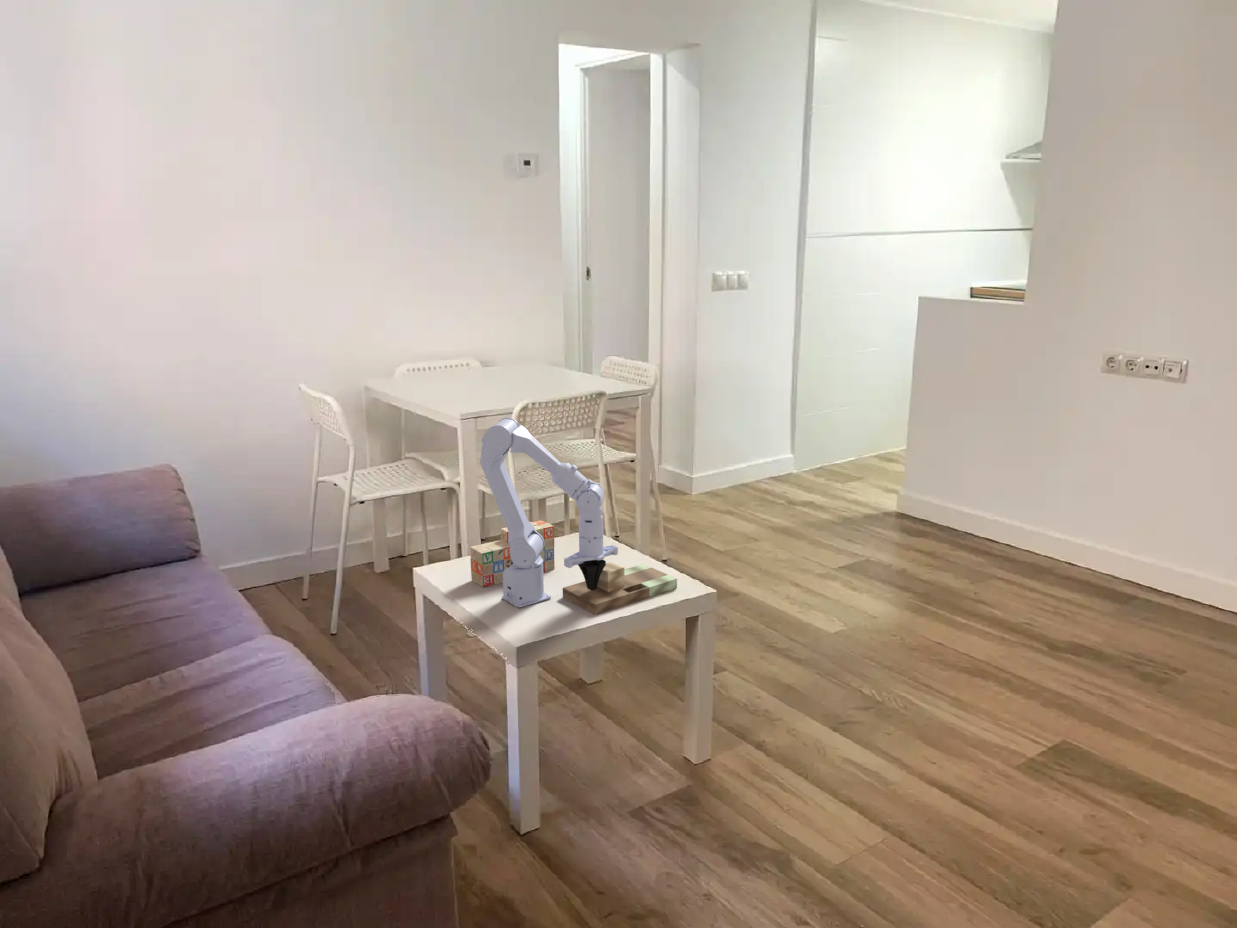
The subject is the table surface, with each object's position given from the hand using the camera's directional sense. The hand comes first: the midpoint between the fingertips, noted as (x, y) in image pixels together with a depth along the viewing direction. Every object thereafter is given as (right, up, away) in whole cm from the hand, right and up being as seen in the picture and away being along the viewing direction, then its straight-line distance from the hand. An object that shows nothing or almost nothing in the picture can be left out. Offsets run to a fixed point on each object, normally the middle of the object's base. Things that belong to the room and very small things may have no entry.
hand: (591, 588), depth 230 cm
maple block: (+4, 0, +4) cm, 6 cm away
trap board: (+7, -2, +6) cm, 9 cm away
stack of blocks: (-21, +1, +18) cm, 28 cm away
